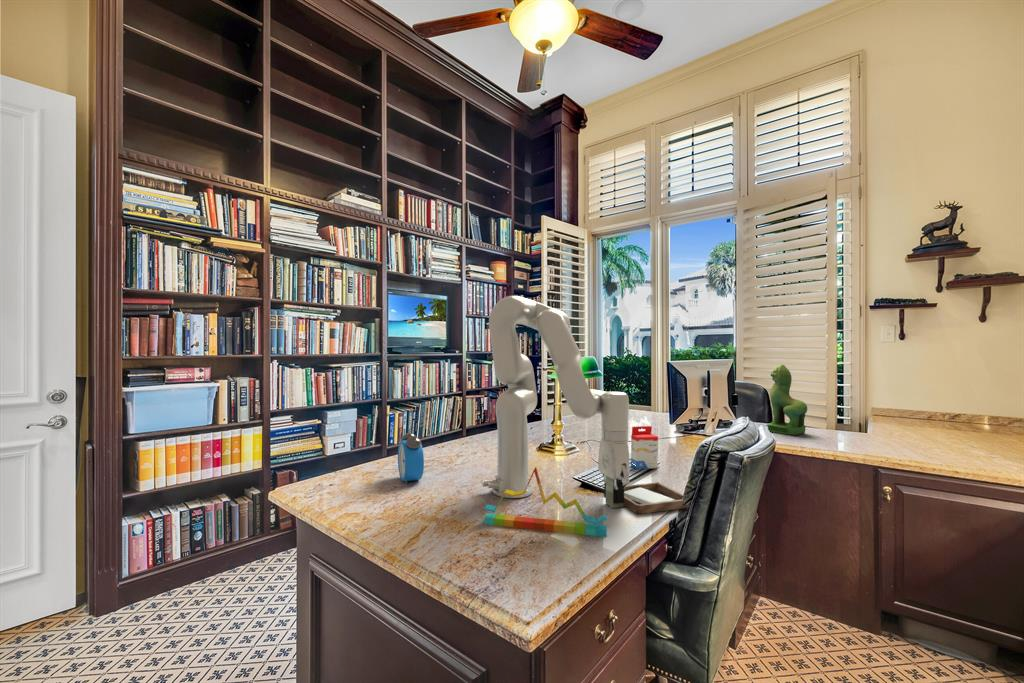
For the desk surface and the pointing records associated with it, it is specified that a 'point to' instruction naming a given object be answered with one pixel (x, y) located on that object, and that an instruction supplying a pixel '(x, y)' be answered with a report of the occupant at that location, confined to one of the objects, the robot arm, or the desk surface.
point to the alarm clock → (410, 458)
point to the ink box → (644, 448)
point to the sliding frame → (650, 506)
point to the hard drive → (645, 496)
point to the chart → (547, 523)
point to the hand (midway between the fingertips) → (613, 499)
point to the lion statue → (785, 405)
